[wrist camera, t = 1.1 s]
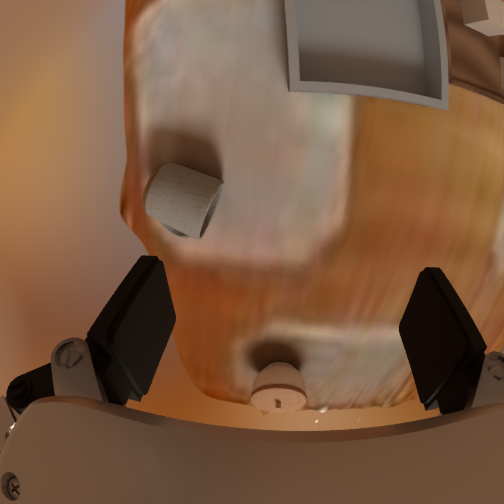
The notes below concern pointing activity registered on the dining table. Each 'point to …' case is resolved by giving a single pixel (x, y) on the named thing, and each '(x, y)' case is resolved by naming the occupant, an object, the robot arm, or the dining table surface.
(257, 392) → the lidded jar
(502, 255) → the dining table surface
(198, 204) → the ceramic mug
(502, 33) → the beige block
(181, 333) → the dining table surface
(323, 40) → the tub
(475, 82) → the walnut tray
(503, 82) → the stone
